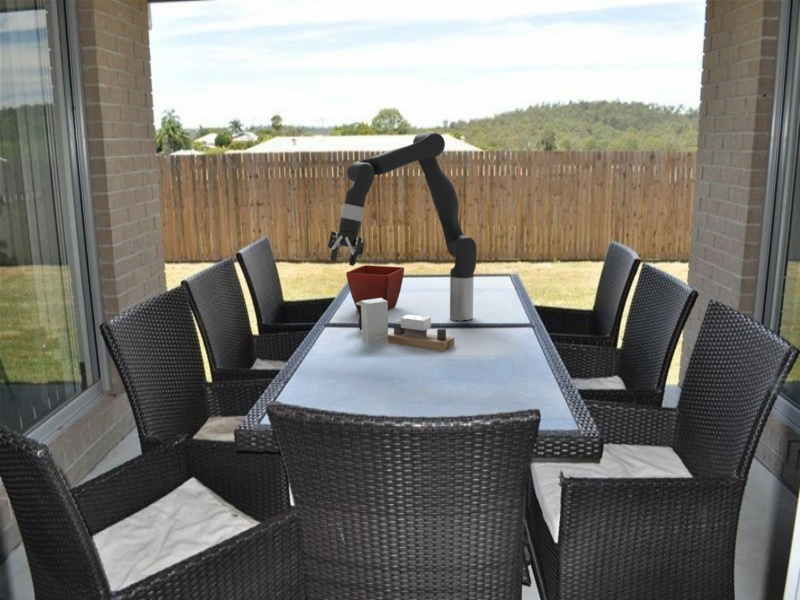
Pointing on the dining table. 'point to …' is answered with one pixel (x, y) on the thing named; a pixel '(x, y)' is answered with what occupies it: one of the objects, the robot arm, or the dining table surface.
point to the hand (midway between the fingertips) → (342, 263)
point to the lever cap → (416, 322)
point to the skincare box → (374, 320)
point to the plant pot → (376, 283)
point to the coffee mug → (359, 314)
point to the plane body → (420, 338)
